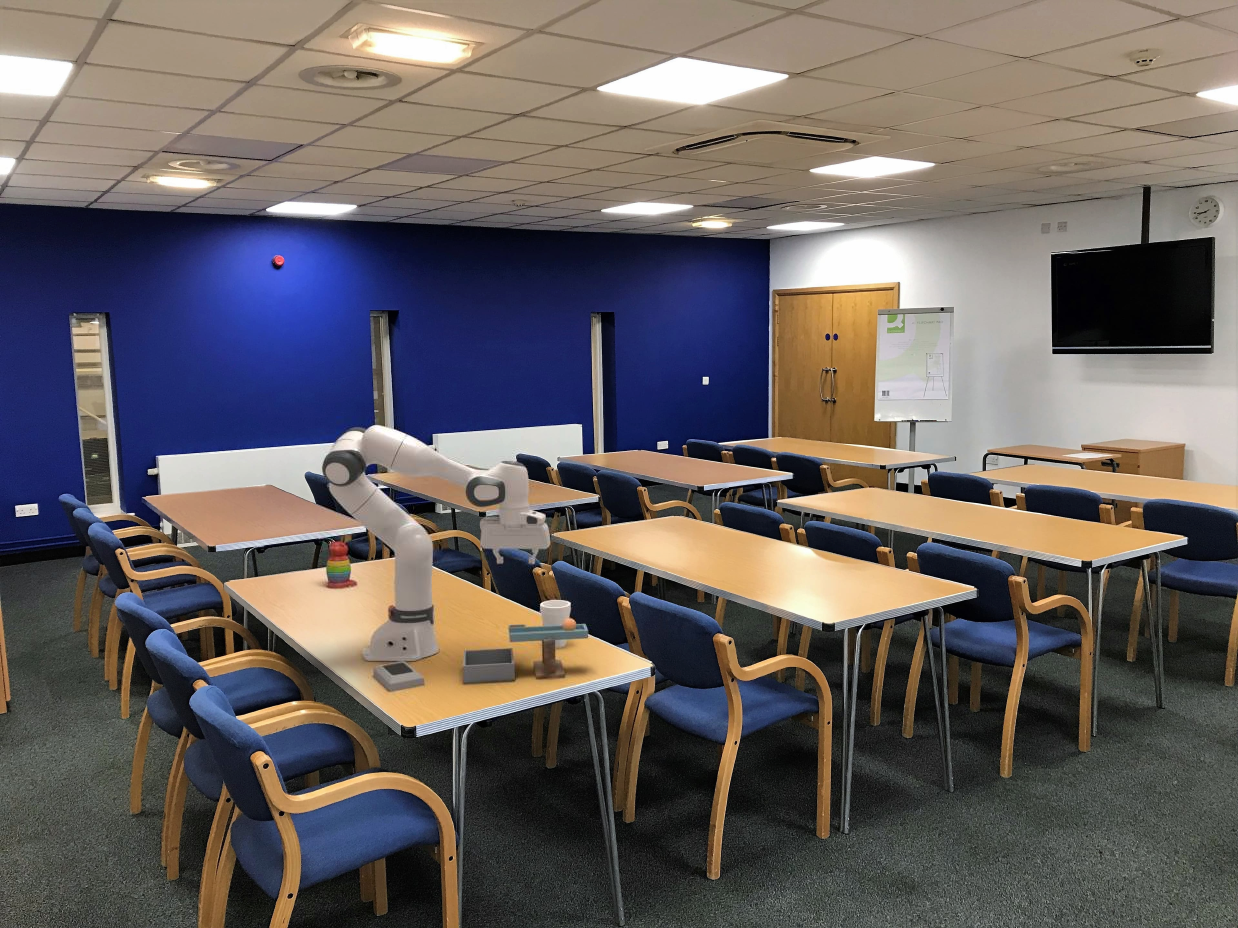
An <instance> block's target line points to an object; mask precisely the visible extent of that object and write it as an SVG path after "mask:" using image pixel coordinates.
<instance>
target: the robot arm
mask: <svg viewBox="0 0 1238 928" xmlns="http://www.w3.org/2000/svg"><path fill="white" fill-rule="evenodd" d="M372 464H375V465H380V466H382V467H385V468H386V469H388V470H390V471H393V472H396V473H397V474H401V475H403V476H409V477H413V478H416V477H417V478H418V477H419V478H420V477H436V478H439V479H442V480H445V481H446V482H449V483H452V484H454V485H456V486H459V487H462V488H463V489H464V490H465V496H466V498H467V500H468V501H469V503H470V504H472V506H475V507H478V508H487V507H491V506H495V505H498V516H484V517H483V518H481V520H480V521H479V527H480V530H481V532H480V546H481V548H482V549H489V550H490V549H492V553H493V555H494V557H495V558H496V564H498V565H500V564H501V565H502V564H503V563H504V556H501V555H500V549H505V550H508V549H509V550H510V549H511V550H517V549H518V550H531V553H532V556H529V557H528V565H534V564H535V562H536V559H535V558H536V557H537V555H538V553H539V550H546V549H547V548H549V547H550V545H551V536H550V530H549V529H550V528H549V526H548V524H547V523H546V519H547V517H546V514H545V513H542V512H538V511H535V510H532V509H530V503H529V492H530V483H529V475H528V473H529V472H528V470H527V469H528V468H526V466H525V465H524V464H523V463H521V462H518V461H512V460H502V461H500V462H499V463H498V464H497V465H495V466H494V467H491V468H475V467H470V466H468V465H466V464H463V463H461V462H459V461H456V460H454V459H451V458H448V457H447V456H445V455H443V454H441V453H439V452H438V451H436V450H435V449H433V448H431V447H430V446H429V445H427V444H425V443H424V442H422V441H421V440H418V438H415V437H413V436H411V435H409V434H406V433H404V432H402V431H399V430H397V429H394V428H391V427H387V426H385V425H384V426H383V425H379V424H375V425H372V426H370V427H368V428H363V427H360V426H359V427H357V426H356V427H351V428H350V429H348V430H346V431H344V432H343V433H342V434H341V436H340V437H338V439H337V440H336V441H335V442H334V443H333V444H332V446H331V448H330V451H329V452H328V454H327V455H325V457H324V459H323V462H322V466H321V473H322V475H323V477H324V478H325V480H326V481H327V482H329V485H328V486H329V487H328V488H329V491H330V493H331V495H332V496H333V497H334V499H336V502H337V503H338V504H340V505H341V507H342V508H343V509H344V510H345V511H346V512H347V513H348V514H349V515H351V516H352V517H353V518H354V519H355V520H356V521H357V522H358V523H360V525H362V526H363V527H364V528H365V529H366V530H368V531H369V532H370V533H371V534H372V535H373V536H375V537H377V538H378V539H379V540H380V541H382V543H384V544H385V545H387V546H388V547H389V548H390V549H391V550H392V551H393V553H394V581H393V583H394V587H393V588H394V605H393V604H390V605H389V606H388V608H387V611H388V612H387V614H388V615H387V616H388V619H387V621H385V622H384V623H383V624H381V625H379V627H378V628H376V630H374V631H373V633H372V635H371V638H370V643H369V645H368V646H366V647H365V648H364V650H363V652H362V659H364V661H368V662H369V661H370V662H371V661H372V662H375V661H376V662H400V661H405V662H416V661H418V660H421V659H422V658H426V657H430V656H433V655H435V654H437V653H438V652H439V651H440V647H439V644H438V641H437V637H436V633H435V627H434V623H435V621H436V620H435V608H434V606H435V605H434V604H433V588H432V587H433V584H432V583H433V582H432V580H433V579H432V578H433V556H434V554H433V553H434V552H433V551H434V548H433V547H434V544H433V541H432V538H431V536H430V535H429V534H428V532H427V531H426V530H425V528H424V527H423V526H422V525H421V524H420V523H418V521H416V520H415V519H414V518H413V517H412V516H411V515H410V514H408V513H407V512H406V511H405V510H404V509H402V508H401V507H400V506H399V505H398V504H397V503H396V502H395V501H393V500H392V499H391V498H390V497H389V496H388V495H387V494H385V493H384V492H383V491H382V489H380V488H379V487H378V486H376V485H375V484H374V483H373V481H371V480H370V479H369V478H368V477H367V475H366V472H365V471H366V470H367V467H368V466H369V465H372Z"/></svg>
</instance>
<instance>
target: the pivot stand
mask: <svg viewBox="0 0 1238 928" xmlns="http://www.w3.org/2000/svg"><path fill="white" fill-rule="evenodd" d="M541 654H542V655H541V656H542V657H541V658H542V659H540V660H533V668H534V674H535V679H536V680H546V679H560V678H561V679H563V678H566V673H565V669H564V666H563V661H562V659H560V658H559V659H556V648H555V639H552V638H548V639H544V641H541Z"/></svg>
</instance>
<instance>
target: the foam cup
mask: <svg viewBox="0 0 1238 928" xmlns="http://www.w3.org/2000/svg"><path fill="white" fill-rule="evenodd" d="M539 605H540V606H539V611H540V614H541V615H540V616H541V620H542V621H541V623H542V626H553V625H562V624H563V621H564V620H565V619H568V618H570V615H571V610H572V608H571V602H570V601H568V600H561V599H560V600H559V599H550V600H546V601H543V602H541V603H540V604H539ZM567 641H568V639H566V640H555V649H558V648H563V647H565V646H567Z"/></svg>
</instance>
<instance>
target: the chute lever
mask: <svg viewBox="0 0 1238 928" xmlns="http://www.w3.org/2000/svg"><path fill="white" fill-rule="evenodd" d="M526 625H527V624H510V625H508V626H507V627H508V629H507V630H508V636H509V643H520V642H521V643H523V642H524V643H525V642H542V641H544V639H548V638H552V639H555V640H566V639H567V640H583V639H584V640H585V639H589V630H588V627H587V625H586V623H581V624H580V623H576V629H575V630H574V631H564V629H563V627H562V625H553V626H543V625H540V626H539V625H537V626H535V625H534V626H526Z"/></svg>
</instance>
